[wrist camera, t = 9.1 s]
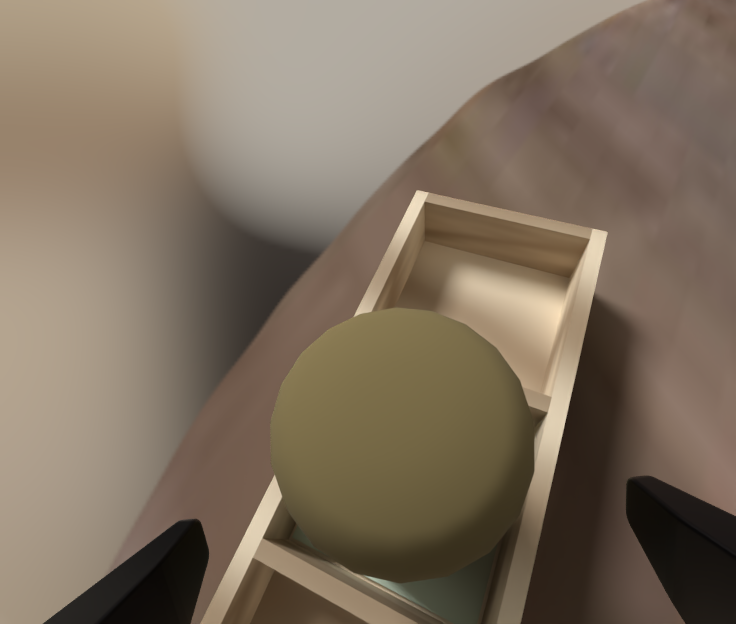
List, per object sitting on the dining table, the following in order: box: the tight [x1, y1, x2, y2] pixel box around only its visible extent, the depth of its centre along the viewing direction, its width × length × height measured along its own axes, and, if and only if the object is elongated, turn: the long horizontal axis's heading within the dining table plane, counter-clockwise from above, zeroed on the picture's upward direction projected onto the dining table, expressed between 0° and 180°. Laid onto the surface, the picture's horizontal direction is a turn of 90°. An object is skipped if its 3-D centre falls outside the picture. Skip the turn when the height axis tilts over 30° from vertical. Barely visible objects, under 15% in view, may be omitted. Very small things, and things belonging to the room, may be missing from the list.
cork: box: [270, 308, 535, 584], centre depth 12 cm, size 6×6×11 cm
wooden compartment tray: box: [200, 190, 607, 624], centre depth 16 cm, size 25×9×4 cm, turn 156°
